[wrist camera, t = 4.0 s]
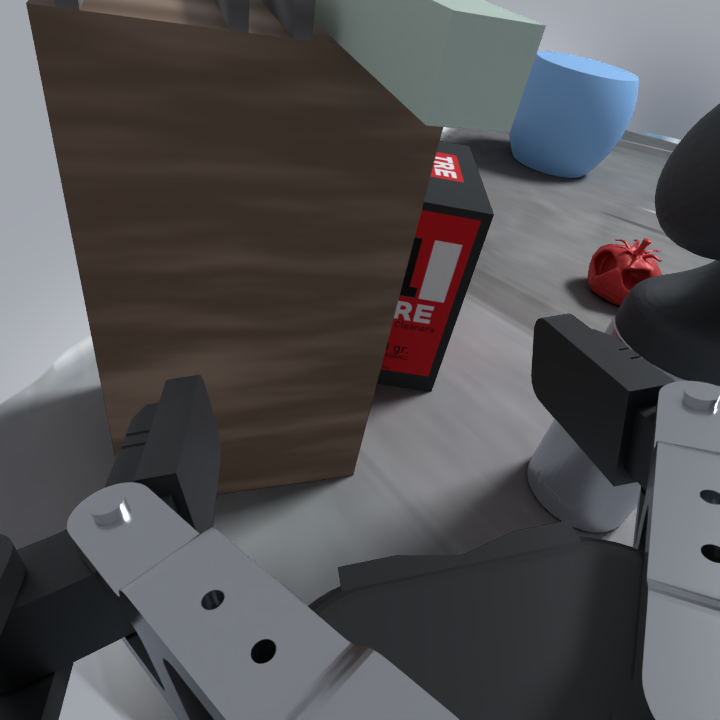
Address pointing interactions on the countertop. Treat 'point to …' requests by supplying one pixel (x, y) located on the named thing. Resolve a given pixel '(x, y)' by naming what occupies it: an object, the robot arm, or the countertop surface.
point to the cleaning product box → (437, 269)
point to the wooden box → (234, 217)
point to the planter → (571, 113)
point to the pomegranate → (621, 269)
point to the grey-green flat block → (440, 55)
